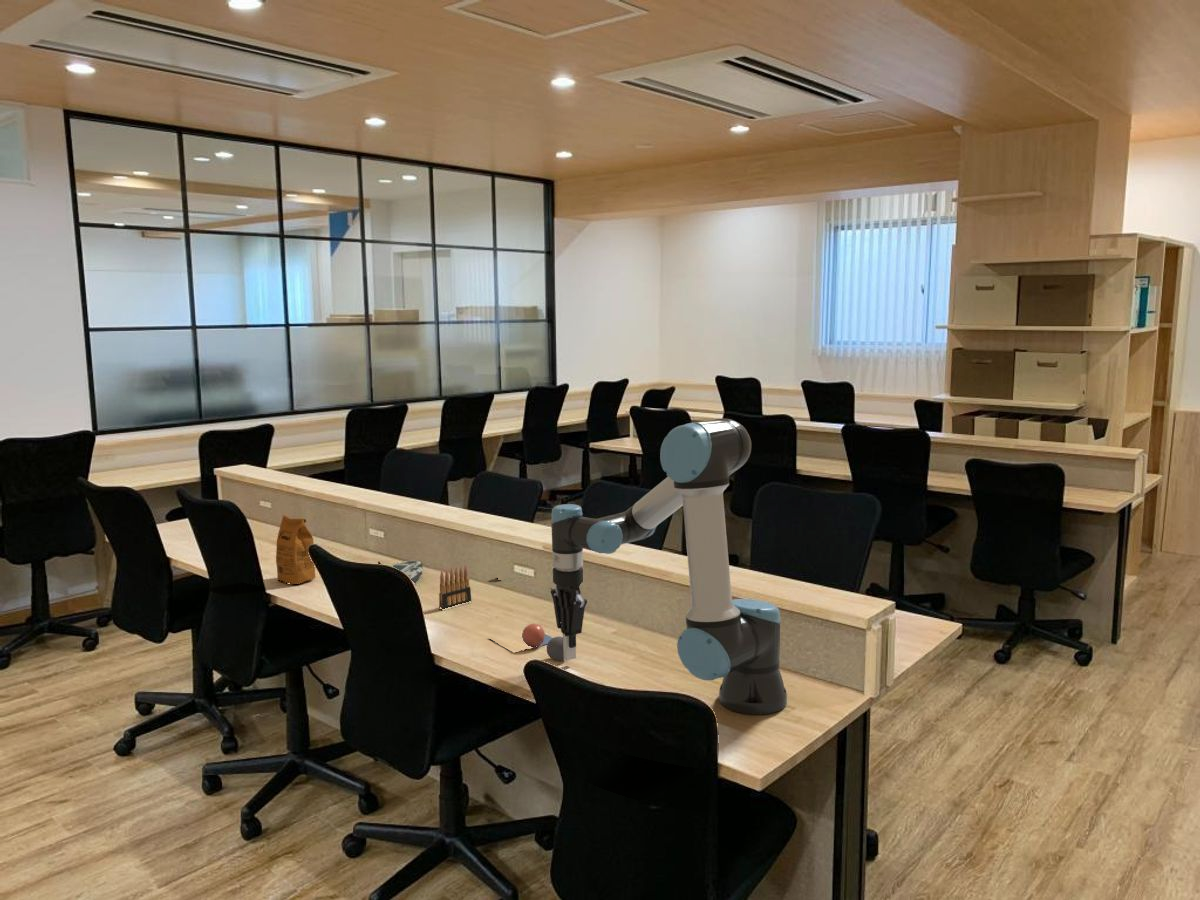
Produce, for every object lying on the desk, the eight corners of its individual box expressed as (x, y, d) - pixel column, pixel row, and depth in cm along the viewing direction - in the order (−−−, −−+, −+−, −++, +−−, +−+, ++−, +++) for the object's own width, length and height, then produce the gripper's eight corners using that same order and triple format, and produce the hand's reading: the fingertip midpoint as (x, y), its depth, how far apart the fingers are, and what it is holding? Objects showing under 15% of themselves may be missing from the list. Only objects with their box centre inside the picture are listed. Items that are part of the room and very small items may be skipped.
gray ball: (566, 629, 235) (558, 642, 238) (547, 635, 231) (539, 648, 235) (577, 648, 232) (569, 661, 235) (557, 654, 228) (550, 667, 232)
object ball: (545, 619, 243) (535, 624, 248) (525, 623, 240) (515, 629, 245) (551, 641, 242) (541, 646, 247) (532, 646, 238) (522, 651, 243)
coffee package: (298, 574, 315) (294, 511, 312) (320, 580, 308) (315, 516, 304) (272, 581, 308) (268, 517, 304) (294, 587, 300) (289, 521, 297)
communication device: (433, 569, 321) (432, 545, 319) (413, 589, 297) (412, 562, 296) (399, 569, 322) (398, 544, 320) (377, 588, 298) (376, 562, 297)
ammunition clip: (468, 601, 283) (466, 563, 281) (471, 602, 281) (470, 564, 280) (439, 609, 275) (437, 570, 273) (442, 610, 274) (441, 572, 272)
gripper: (540, 564, 229) (543, 654, 233) (569, 575, 219) (571, 669, 222) (565, 559, 233) (567, 647, 237) (595, 570, 223) (597, 662, 226)
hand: (569, 658), depth 230 cm, fingers closed
